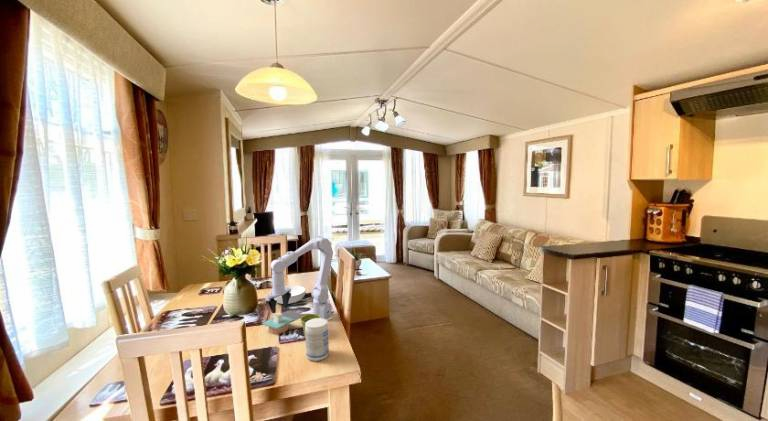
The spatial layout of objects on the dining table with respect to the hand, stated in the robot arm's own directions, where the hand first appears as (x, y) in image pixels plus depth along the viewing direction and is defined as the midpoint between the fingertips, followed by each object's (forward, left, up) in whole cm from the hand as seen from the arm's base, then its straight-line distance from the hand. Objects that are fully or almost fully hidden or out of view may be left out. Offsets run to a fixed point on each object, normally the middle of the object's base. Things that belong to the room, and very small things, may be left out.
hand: (279, 310), depth 162 cm
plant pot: (-19, -2, -10) cm, 22 cm away
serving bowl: (+24, -28, -10) cm, 38 cm away
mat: (+6, -11, -9) cm, 15 cm away
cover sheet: (-1, +2, -5) cm, 6 cm away
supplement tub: (-34, +10, -10) cm, 37 cm away
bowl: (-1, +2, -9) cm, 10 cm away
